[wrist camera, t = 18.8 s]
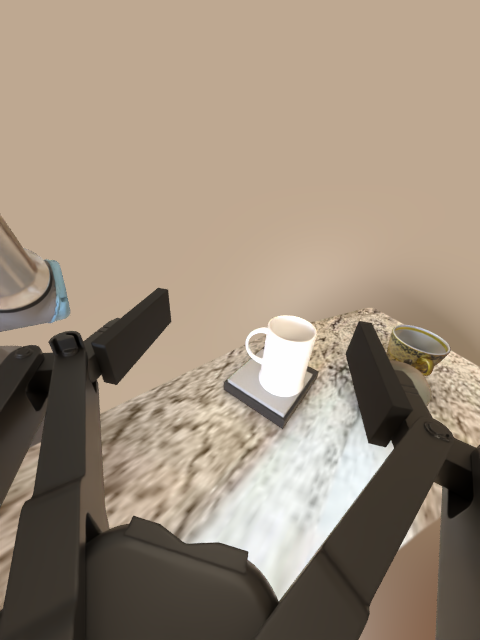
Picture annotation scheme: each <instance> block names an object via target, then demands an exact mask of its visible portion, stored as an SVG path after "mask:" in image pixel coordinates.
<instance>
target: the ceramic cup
mask: <svg viewBox="0 0 480 640" xmlns="http://www.w3.org/2000/svg"><path fill="white" fill-rule="evenodd" d="M450 351H451V349H450V346H449V345H448V343H447V342H446V341H445V340H444V339H442V338H441V337H439V336H438V335H436V334H434V333H432V332H430V331H428V330H425V329H423V328H419V327H415V326H411V325H398V326H396V327H394V328H393V331H392V333H391V337H390V340H389V346H388V350H387V353H386V354H387V356H388V358H389V360H392V361H399V362H403V361H404V360H407V359H411V360H412V364H411V366H412V367H414V368H416V369H417V370H419V371H420V372H421V373H422V374H423V376H428V375H430V374H431V373H432V371H433V368H434V366H435V365H437V364H438V363H439V362H440V361H442V360H443V359H444V358H445V357H446V356H447V355H448V354H449V353H450Z"/></svg>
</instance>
